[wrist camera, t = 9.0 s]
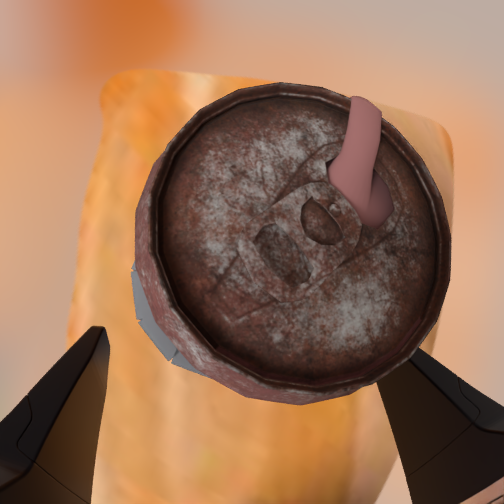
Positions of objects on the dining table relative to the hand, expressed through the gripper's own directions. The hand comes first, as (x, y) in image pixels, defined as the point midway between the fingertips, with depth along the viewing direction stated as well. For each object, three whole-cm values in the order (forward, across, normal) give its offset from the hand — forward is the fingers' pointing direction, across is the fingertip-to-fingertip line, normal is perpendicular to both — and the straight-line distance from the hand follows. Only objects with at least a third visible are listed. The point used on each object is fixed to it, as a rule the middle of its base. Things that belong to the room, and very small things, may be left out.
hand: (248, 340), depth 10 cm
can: (+8, 0, +4) cm, 9 cm away
